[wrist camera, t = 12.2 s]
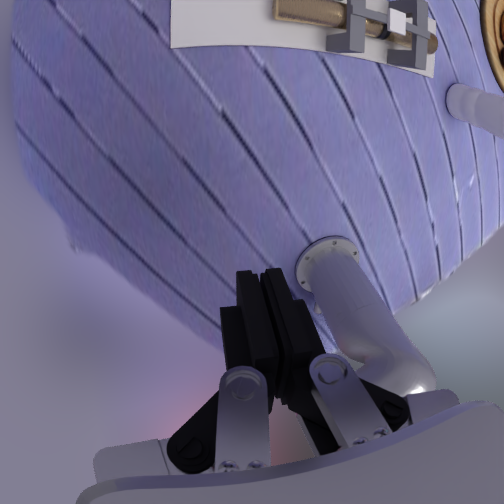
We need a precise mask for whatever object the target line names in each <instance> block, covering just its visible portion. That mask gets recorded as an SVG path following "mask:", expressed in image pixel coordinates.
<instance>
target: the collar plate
mask: <svg viewBox="0 0 504 504" xmlns="http://www.w3.org/2000/svg"><path fill="white" fill-rule="evenodd" d="M332 1H337V2H341V3H346V4H347V24H346V30H343V29H338V28H333V27H327V26H322V25H315V24H309V23H302V22H294V21H284V20H275V19H274V18H273V14H272V5H273V0H171V49H175V48H187V47H202V46H267V47H282V48H294V49H303V50H312V51H319V52H326V53H333V54H339V55H344V56H350V57H355V58H360V59H364V60H369V61H373V62H378V63H382V64H386V65H389V66H393V67H397V68H400V69H404V70H407V71H411V72H414V73H417V74H420V75H423V76H426V77H429V78H433V74H434V61H435V53H433V54H431V55H428V54H427V43H428V39H430V32H431V33H433V34H434V35H435V36H436V21H435V20H433V19H430V18H428V2H426V1H424V0H396V1H391V2H389V1H386V0H332ZM380 12H381V13H380ZM383 13H384V14H383ZM386 14H387V15H386ZM366 18H368V19H372V20H375V21H378V22H382V23H385V24H387V30H388V31H391V32H394V33H397V34H400V35H405V34H406V31H408V32H411V33H412V49H411V48H408V47H406V46H403V45H399V44H396V43H393V42H390V41H387V40H380V39H376V38H373V37H372V36H369V35H365V24H366Z"/></svg>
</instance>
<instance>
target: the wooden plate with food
mask: <svg viewBox="0 0 504 504" xmlns="http://www.w3.org/2000/svg"><path fill="white" fill-rule="evenodd" d="M480 20H481V29H482V35H483V41H484V45H485V49H486V53H487V57H488V60H489V63H490V66H491V69H492V71H493V74H494V76H495V78H496V81H497V83H498V84H499V86H500V88H501V89H502V91H503V92H504V0H481V6H480Z"/></svg>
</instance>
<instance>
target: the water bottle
mask: <svg viewBox="0 0 504 504" xmlns="http://www.w3.org/2000/svg"><path fill="white" fill-rule="evenodd" d="M446 102H447V107H448V110H449V112H450V114H451V115H452V116H453V117H454V118H456V119H458V120H461V121H464V122H468V123H470V124H471V125H473V126H476V127H479V128H483V129H484V130H486V131H488V132H490V133H492V134H494V135H495V136H497V137H499V138H501V139H504V97H502V96H499V95H496V94H492V93H487V92H485V91H483V90H481V89H477V88H471V87H469V86H467V85H464V84H459V83H457V84H454V85H452V86H451V87H450V89H449V90H448V93H447V98H446Z"/></svg>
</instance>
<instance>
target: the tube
mask: <svg viewBox="0 0 504 504" xmlns="http://www.w3.org/2000/svg"><path fill="white" fill-rule="evenodd" d="M380 13H381V12H380ZM272 14H273V18H274V19H275V20H284V21H294V22H302V23H309V24H315V25H322V26H327V27H333V28H338V29H343V30H346V24H347V4H346V3H341V2H337V1H332V0H273V5H272ZM383 14H384V13H383ZM386 15H387V14H386ZM365 35H369V36H372V37H373V38H376V39H380V40H387V41H390V42H393V43H396V44H399V45H403V46H406V47H408V48H411V49H412V33H411V32H408V31H406V34H405V35H400V34H397V33H394V32H391V31H388V30H387V24H385V23H382V22H378V21H375V20H372V19H368V18H366V24H365ZM437 47H438V40H437V37H436V36H435V35H434V34H433V33H431V32H430V39H428V43H427V54H428V55H431V54H433V53H435V51H436V50H437Z"/></svg>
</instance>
